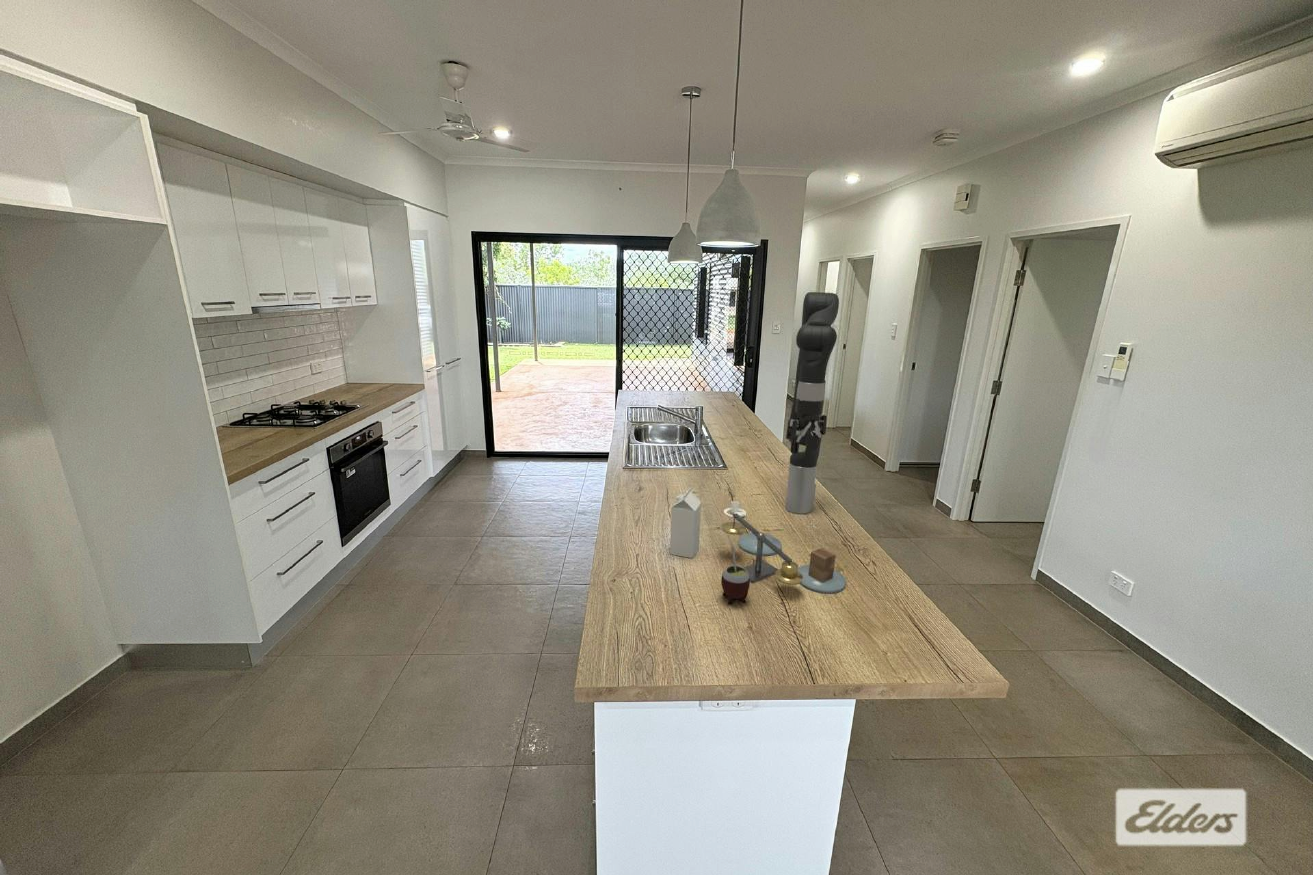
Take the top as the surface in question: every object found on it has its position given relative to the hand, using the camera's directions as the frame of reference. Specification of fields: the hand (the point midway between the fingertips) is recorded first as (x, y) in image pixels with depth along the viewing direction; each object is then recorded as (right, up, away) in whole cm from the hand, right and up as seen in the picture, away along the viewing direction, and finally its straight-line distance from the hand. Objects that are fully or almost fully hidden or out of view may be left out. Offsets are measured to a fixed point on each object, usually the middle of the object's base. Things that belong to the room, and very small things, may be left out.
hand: (804, 451), depth 150 cm
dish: (+1, -35, -12) cm, 36 cm away
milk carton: (-35, -30, +2) cm, 46 cm away
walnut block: (+1, -34, -12) cm, 36 cm away
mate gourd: (-24, -37, -21) cm, 49 cm away
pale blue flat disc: (-12, -29, +7) cm, 32 cm away
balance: (-15, -33, -9) cm, 38 cm away
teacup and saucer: (-18, -24, +28) cm, 41 cm away
